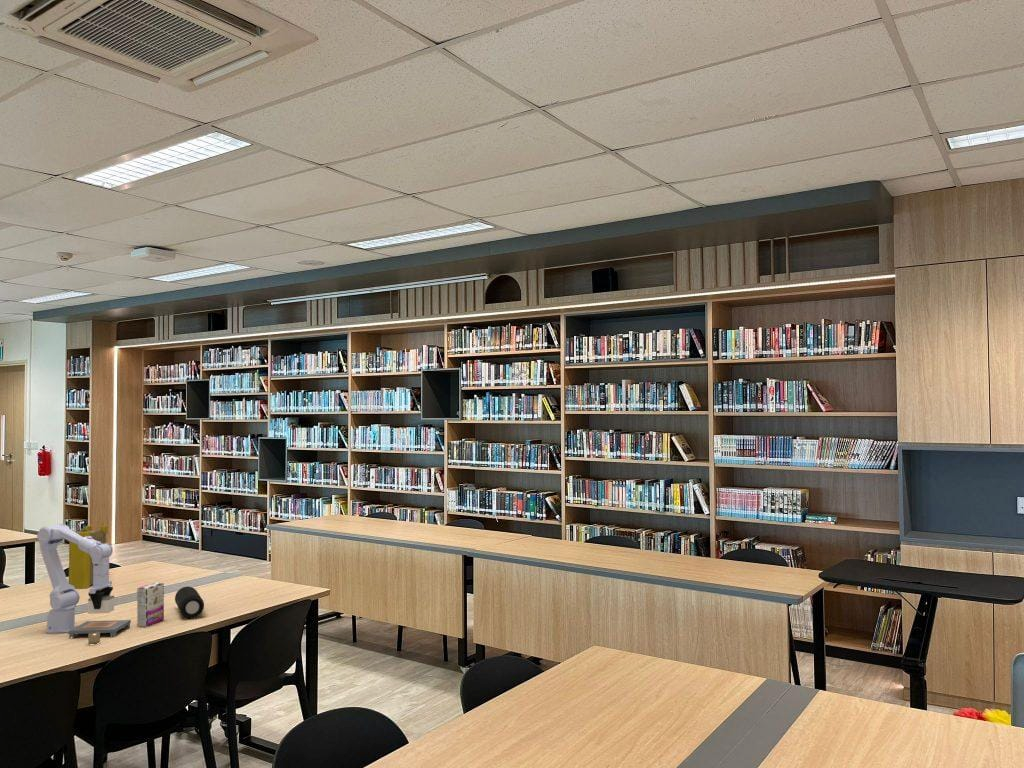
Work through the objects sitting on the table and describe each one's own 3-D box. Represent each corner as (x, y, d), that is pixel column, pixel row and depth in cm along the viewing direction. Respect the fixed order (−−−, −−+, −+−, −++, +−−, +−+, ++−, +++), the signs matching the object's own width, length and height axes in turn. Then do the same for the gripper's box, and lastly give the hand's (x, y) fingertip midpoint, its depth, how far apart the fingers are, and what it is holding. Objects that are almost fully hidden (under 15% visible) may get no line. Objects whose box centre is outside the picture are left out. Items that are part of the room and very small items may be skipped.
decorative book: (87, 588, 381) (88, 530, 382) (66, 588, 381) (67, 530, 382) (108, 580, 401) (109, 524, 402) (88, 580, 401) (89, 525, 402)
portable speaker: (174, 608, 339) (174, 586, 340) (197, 605, 344) (197, 584, 345) (180, 621, 317) (180, 598, 318) (204, 618, 322) (205, 595, 323)
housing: (108, 613, 299) (108, 598, 300) (88, 613, 299) (88, 598, 299) (114, 610, 304) (114, 595, 305) (94, 610, 304) (94, 595, 304)
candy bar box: (154, 619, 320) (154, 581, 321) (164, 620, 319) (164, 582, 320) (136, 626, 309) (136, 587, 310) (146, 627, 308) (147, 588, 309)
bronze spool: (86, 645, 284) (86, 635, 285) (91, 642, 288) (91, 632, 289) (96, 645, 285) (96, 634, 285) (102, 641, 289) (102, 631, 289)
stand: (68, 638, 294) (68, 630, 294) (86, 628, 308) (86, 620, 308) (114, 637, 295) (114, 628, 295) (130, 627, 309) (130, 619, 309)
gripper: (102, 577, 295) (101, 611, 295) (119, 570, 310) (119, 602, 309) (84, 577, 295) (83, 612, 294) (102, 570, 309) (101, 602, 309)
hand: (100, 607), depth 302 cm, fingers closed on housing, 5 cm apart
